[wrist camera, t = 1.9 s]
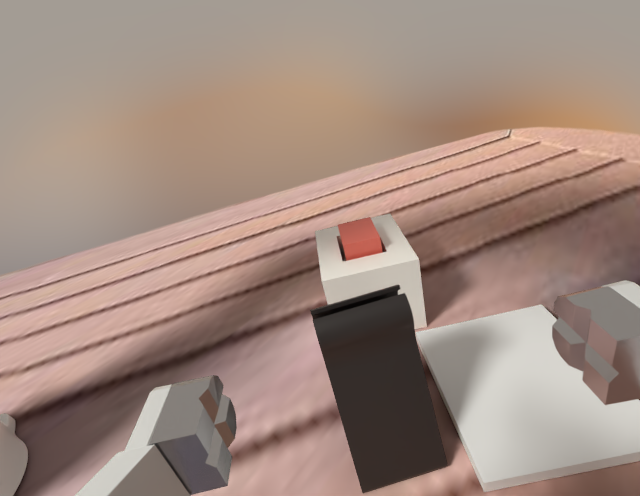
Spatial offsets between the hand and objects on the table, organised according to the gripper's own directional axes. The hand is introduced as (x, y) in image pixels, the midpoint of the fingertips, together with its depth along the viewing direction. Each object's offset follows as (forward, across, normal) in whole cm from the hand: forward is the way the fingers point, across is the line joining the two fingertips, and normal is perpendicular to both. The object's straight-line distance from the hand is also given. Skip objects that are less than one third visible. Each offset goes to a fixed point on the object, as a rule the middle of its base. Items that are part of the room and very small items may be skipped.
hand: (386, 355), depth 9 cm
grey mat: (+13, -11, +19) cm, 26 cm away
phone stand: (+12, 0, +20) cm, 23 cm away
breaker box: (+27, -2, +19) cm, 33 cm away
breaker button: (+27, -2, +13) cm, 30 cm away
